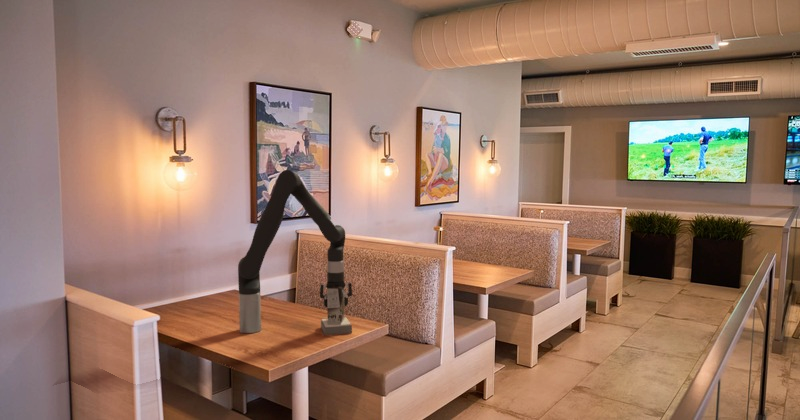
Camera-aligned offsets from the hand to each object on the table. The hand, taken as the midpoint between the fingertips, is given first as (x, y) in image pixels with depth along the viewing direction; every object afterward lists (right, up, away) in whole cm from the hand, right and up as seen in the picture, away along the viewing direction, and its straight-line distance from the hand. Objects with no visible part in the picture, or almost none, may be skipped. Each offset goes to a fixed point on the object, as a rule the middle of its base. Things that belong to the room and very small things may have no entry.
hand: (335, 306), depth 251 cm
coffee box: (0, -7, +1) cm, 7 cm away
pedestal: (0, -11, +1) cm, 11 cm away
